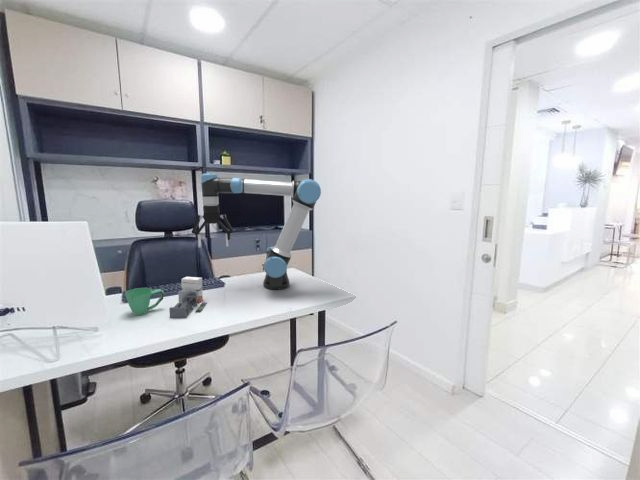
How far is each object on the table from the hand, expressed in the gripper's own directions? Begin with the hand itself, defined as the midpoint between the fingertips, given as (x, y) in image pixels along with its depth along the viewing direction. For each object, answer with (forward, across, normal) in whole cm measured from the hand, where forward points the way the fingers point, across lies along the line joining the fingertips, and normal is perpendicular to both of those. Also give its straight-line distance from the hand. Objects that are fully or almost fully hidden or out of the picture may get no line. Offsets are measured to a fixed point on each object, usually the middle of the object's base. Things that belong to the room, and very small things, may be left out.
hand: (213, 246), depth 153 cm
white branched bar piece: (+25, +9, +19) cm, 33 cm away
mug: (+25, +26, +21) cm, 42 cm away
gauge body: (+25, +8, +20) cm, 34 cm away
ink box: (+26, +10, +10) cm, 29 cm away
